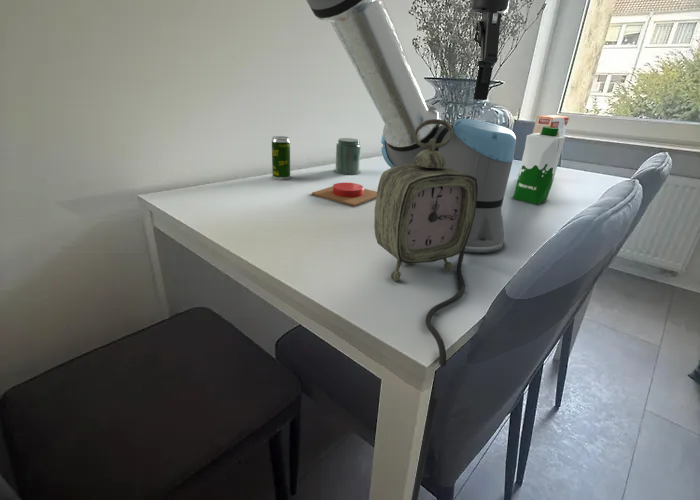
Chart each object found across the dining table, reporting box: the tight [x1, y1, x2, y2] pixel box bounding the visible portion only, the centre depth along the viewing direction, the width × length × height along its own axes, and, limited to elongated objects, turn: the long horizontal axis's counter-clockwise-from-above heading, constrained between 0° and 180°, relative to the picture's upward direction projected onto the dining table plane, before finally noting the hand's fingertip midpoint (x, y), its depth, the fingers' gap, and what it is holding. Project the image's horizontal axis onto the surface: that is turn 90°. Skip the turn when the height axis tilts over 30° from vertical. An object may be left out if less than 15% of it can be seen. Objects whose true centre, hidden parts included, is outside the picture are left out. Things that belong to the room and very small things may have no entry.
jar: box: [334, 137, 362, 176], centre depth 129 cm, size 8×8×10 cm
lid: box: [332, 182, 364, 197], centre depth 106 cm, size 8×8×2 cm
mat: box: [311, 185, 377, 207], centre depth 106 cm, size 14×14×1 cm
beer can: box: [271, 135, 291, 181], centre depth 117 cm, size 5×5×12 cm
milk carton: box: [512, 127, 566, 205], centre depth 109 cm, size 9×9×20 cm
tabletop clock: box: [373, 118, 478, 282], centre depth 63 cm, size 14×9×25 cm, turn 115°
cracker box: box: [532, 114, 570, 137], centre depth 137 cm, size 14×6×21 cm, turn 132°
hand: (473, 98), depth 91 cm, fingers open, 13 cm apart
